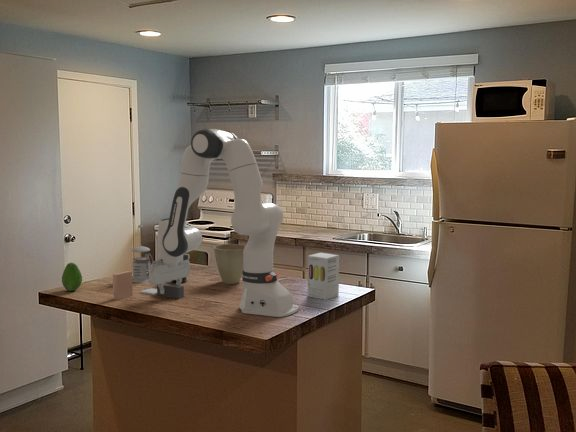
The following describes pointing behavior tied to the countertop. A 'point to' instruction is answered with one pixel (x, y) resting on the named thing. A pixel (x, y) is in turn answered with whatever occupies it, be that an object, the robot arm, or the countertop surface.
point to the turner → (167, 291)
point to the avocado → (71, 277)
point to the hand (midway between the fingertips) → (170, 291)
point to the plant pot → (229, 262)
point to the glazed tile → (122, 285)
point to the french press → (141, 264)
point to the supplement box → (323, 276)
